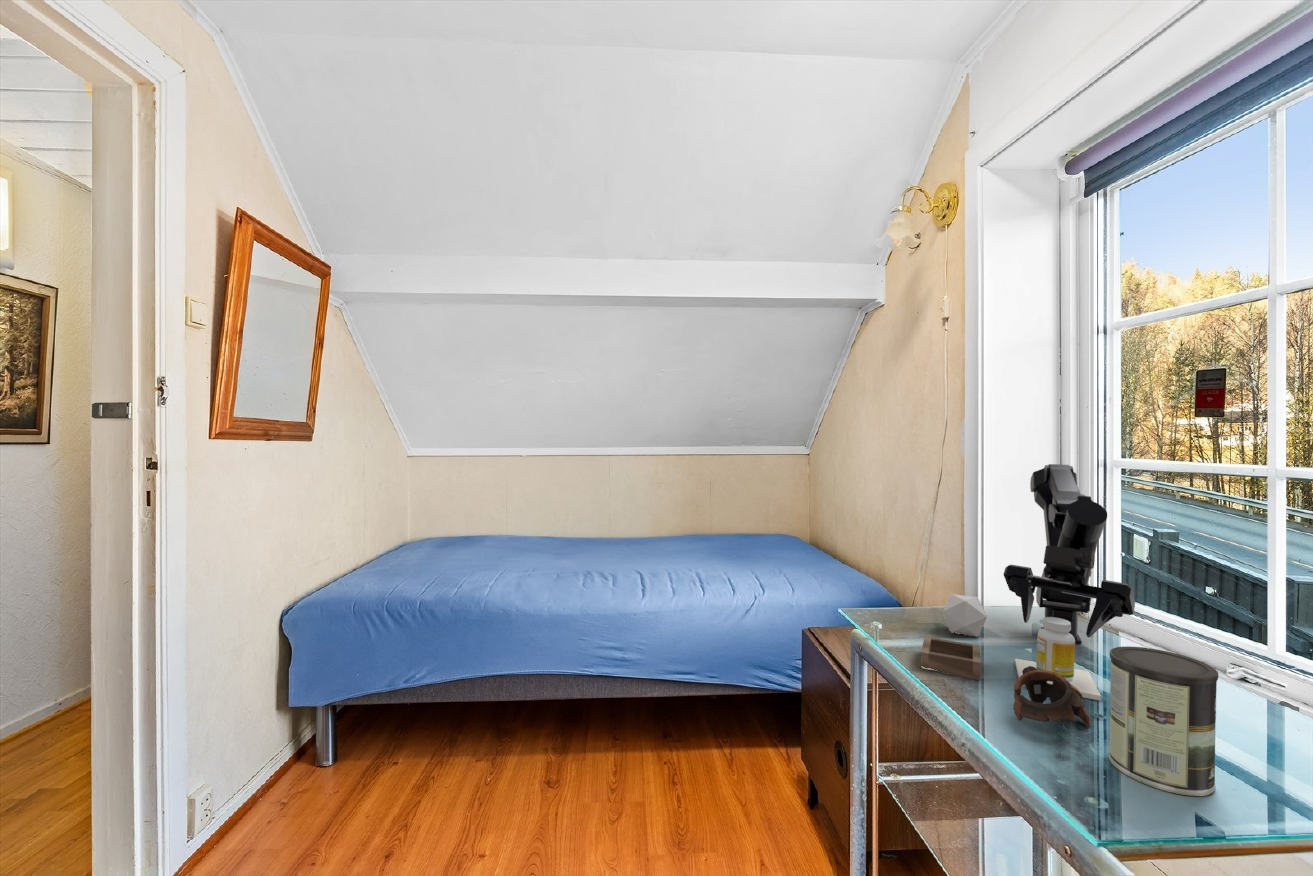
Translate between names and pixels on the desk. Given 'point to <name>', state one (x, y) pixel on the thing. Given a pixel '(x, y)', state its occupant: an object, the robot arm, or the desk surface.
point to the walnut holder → (951, 657)
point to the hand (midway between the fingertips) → (1055, 628)
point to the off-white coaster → (1079, 681)
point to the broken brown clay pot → (1060, 694)
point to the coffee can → (1163, 719)
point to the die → (964, 615)
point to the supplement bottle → (1056, 647)
